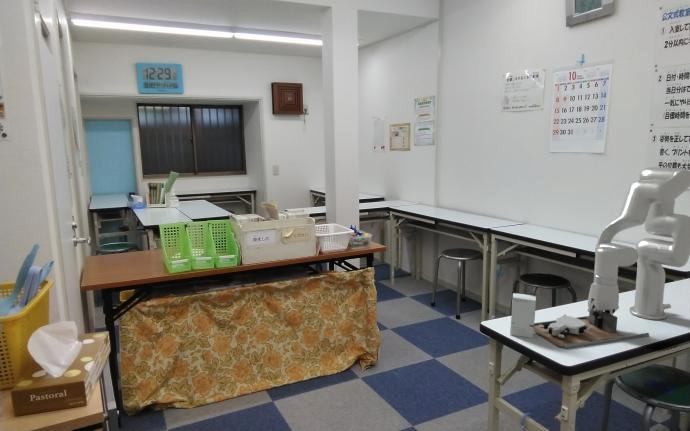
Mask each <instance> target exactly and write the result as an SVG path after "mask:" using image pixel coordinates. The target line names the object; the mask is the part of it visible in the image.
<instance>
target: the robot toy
mask: <svg viewBox="0 0 690 431" xmlns="http://www.w3.org/2000/svg"><path fill="white" fill-rule="evenodd" d="M555 320H556V323H551V324H549V323H543V325H539V327H540V328H544V329H548V333H549V334H552V335H554V336H558V337H561V338H565V337H566V336H567V333H572V334H576V335H579V334H581V333H584V332H586V331H587V330H588V329H590V328H592V327H593V326H591V327H589V328H588V329H587V324H586V323H585V322H583V321H582V320H580V319H577V317H574V316H571V315H570V316H569V315H567V314H564V315H562V316H560V317H559V316H558V317H557V318H556V319H555Z"/></svg>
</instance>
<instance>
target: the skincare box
mask: <svg viewBox="0 0 690 431" xmlns="http://www.w3.org/2000/svg"><path fill="white" fill-rule="evenodd" d="M536 304H537V296H536V295H530V294H525V293H516V292H514V293H512V303H511V318H510V332H509V335H510V336H513V335H514V337H521V338H529V339H534V333H535V332H534V323H535V318H536V306H537V305H536Z"/></svg>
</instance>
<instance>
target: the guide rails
mask: <svg viewBox="0 0 690 431" xmlns="http://www.w3.org/2000/svg"><path fill="white" fill-rule="evenodd" d="M576 318H577V319H580V320H581V319H589V315H586V316H578V317H576ZM543 323H549V324H551V323H556V319H554V320H548V321H540V322H534V326H536V325H543ZM647 337H650V332H644V333H643V332H642V333H636V334H631V335H624V336H622V337H616V338H609V339H602V340H595V341H589V342H582V343H575V344H569V345H563V348H562V349H564V350H567V349H574V348H583V347H586V346H594V345H595V346H596V345H601V344H607V343H613V342H621V341H627V340H634V339H639V338H647Z"/></svg>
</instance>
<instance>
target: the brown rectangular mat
mask: <svg viewBox="0 0 690 431" xmlns="http://www.w3.org/2000/svg"><path fill="white" fill-rule="evenodd" d="M588 313H589V314H588V316H589V319H581V320H582V321H583V322H585V323H586V324H587V329H588V328H589V327H591V326H593V327H592V328H590V329H588V330H587V331H586V332H584V333H581V334H579V335H576V334H572V333H567V336H566V337H565V338H561V337H558V336H554V335H552V334H549V333H548V329H544V328H540V327H539V325H536V326H534V332H533V333H534V334H537V335H538V336H540V337H542V338H543V339H544V340H546V341H547V342H549V343H551V344H552V345H554V346H556V347H558V348H559V349H563V345H569V344H575V343H582V342H589V341H595V340H602V339H609V338H616V337H622V336H625V335H624V334H622V333H620V332H617V328H618V327H617V325H618V317H617V316H615V315H614V314H613V315H611V314H609V313H607V312H604V311H602V317H601V318H602V319H603V321H602V329H600V328H598V327H596V326H594V320H595V316H593V314H592V313H590V312H588ZM597 313H598V311H597Z"/></svg>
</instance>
